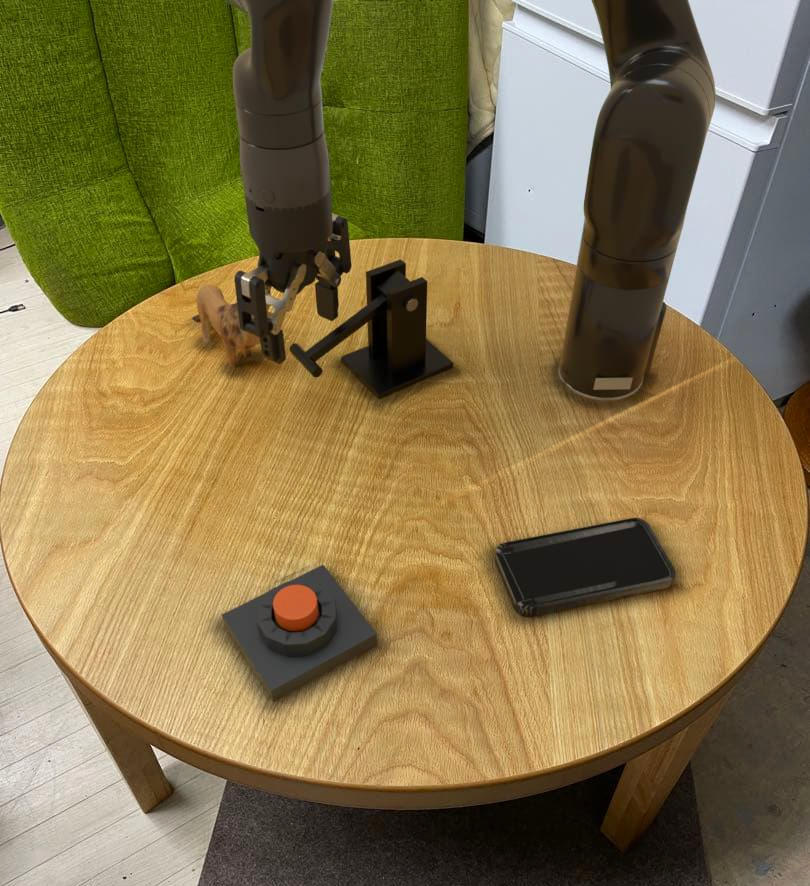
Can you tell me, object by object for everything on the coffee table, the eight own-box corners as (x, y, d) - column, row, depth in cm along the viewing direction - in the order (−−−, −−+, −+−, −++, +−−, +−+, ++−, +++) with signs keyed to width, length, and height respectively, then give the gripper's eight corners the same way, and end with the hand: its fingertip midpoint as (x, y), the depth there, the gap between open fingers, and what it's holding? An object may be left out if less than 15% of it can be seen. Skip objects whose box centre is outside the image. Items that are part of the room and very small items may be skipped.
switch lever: (317, 383, 89) (308, 368, 87) (294, 358, 92) (284, 343, 90) (423, 303, 91) (417, 286, 89) (397, 280, 93) (390, 264, 91)
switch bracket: (378, 403, 94) (376, 310, 85) (341, 365, 99) (334, 273, 90) (453, 371, 98) (458, 279, 89) (413, 335, 102) (414, 244, 93)
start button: (305, 590, 74) (303, 577, 72) (326, 619, 72) (325, 606, 70) (267, 609, 72) (265, 596, 71) (288, 639, 70) (286, 626, 69)
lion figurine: (288, 367, 98) (280, 299, 92) (251, 389, 96) (240, 320, 89) (210, 313, 105) (197, 246, 98) (174, 332, 103) (157, 264, 96)
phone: (492, 544, 80) (643, 515, 82) (491, 552, 80) (641, 523, 83) (520, 612, 75) (680, 579, 77) (519, 620, 75) (677, 587, 78)
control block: (324, 576, 79) (321, 551, 76) (377, 645, 74) (376, 621, 71) (224, 626, 75) (217, 601, 72) (273, 702, 70) (268, 679, 68)
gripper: (303, 140, 80) (315, 292, 93) (198, 204, 72) (226, 361, 85) (369, 162, 78) (373, 316, 90) (267, 231, 70) (286, 389, 82)
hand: (302, 338), depth 87 cm, fingers open, 8 cm apart
